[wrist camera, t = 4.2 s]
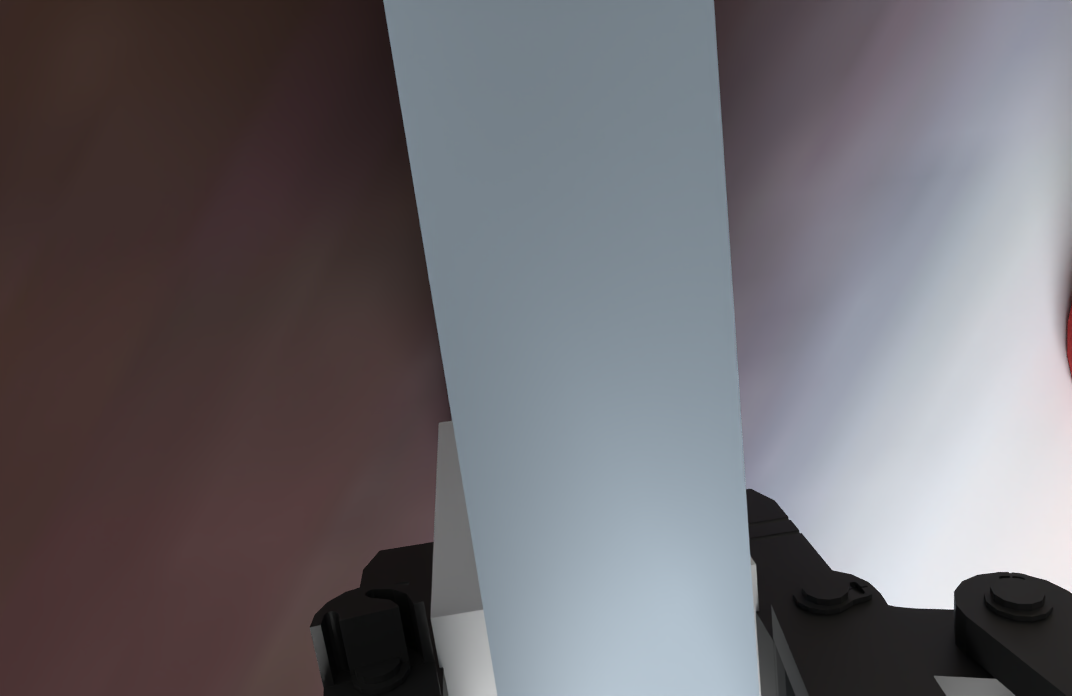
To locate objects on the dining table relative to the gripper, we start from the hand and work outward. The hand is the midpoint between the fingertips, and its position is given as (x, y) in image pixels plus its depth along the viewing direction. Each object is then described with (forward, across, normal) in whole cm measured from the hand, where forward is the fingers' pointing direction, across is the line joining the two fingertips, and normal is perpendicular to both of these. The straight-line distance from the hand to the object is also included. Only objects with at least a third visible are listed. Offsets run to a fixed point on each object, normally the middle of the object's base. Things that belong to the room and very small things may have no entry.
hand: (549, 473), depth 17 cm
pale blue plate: (0, 0, +4) cm, 4 cm away
